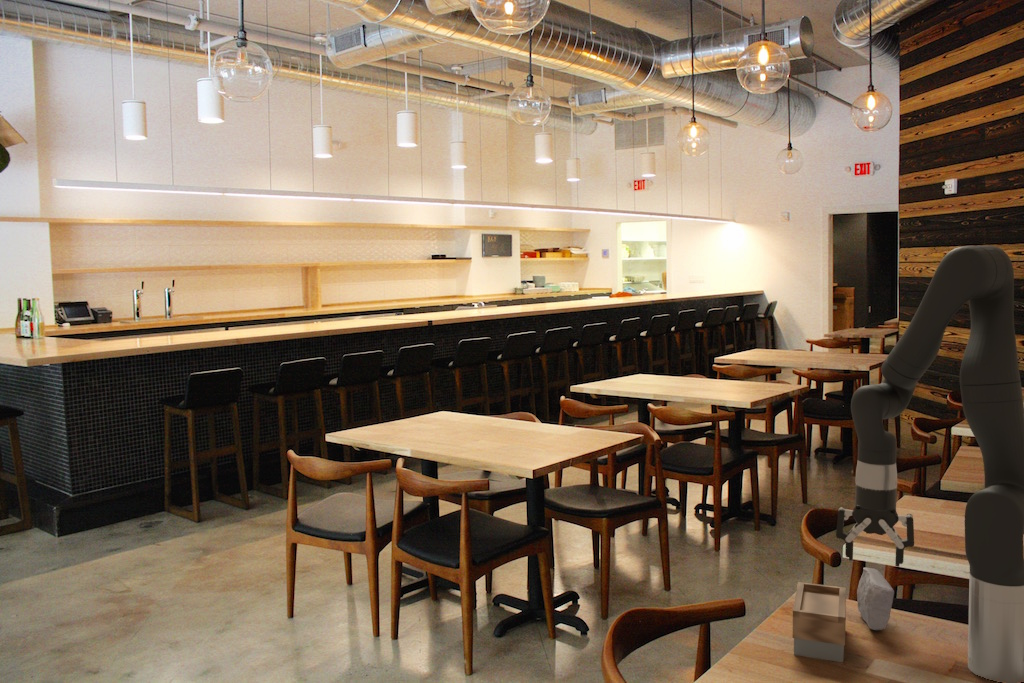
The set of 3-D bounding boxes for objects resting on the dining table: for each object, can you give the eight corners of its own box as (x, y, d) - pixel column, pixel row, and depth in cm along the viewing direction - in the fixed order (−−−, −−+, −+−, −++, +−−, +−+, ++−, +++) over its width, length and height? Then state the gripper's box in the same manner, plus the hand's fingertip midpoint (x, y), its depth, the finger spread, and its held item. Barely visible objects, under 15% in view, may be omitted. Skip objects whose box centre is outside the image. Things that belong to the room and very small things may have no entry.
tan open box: (845, 613, 160) (846, 587, 160) (845, 645, 146) (845, 617, 146) (797, 606, 164) (798, 581, 163) (792, 637, 150) (792, 610, 149)
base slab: (844, 632, 161) (845, 612, 160) (843, 666, 147) (843, 644, 147) (799, 626, 164) (799, 607, 164) (793, 658, 150) (794, 637, 150)
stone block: (895, 637, 157) (895, 587, 156) (868, 635, 158) (868, 585, 157) (880, 612, 169) (880, 565, 168) (855, 610, 170) (855, 564, 169)
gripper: (915, 482, 161) (912, 561, 163) (838, 475, 167) (836, 551, 169) (916, 491, 155) (913, 574, 156) (836, 484, 161) (834, 563, 162)
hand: (873, 562), depth 162 cm, fingers open, 8 cm apart
